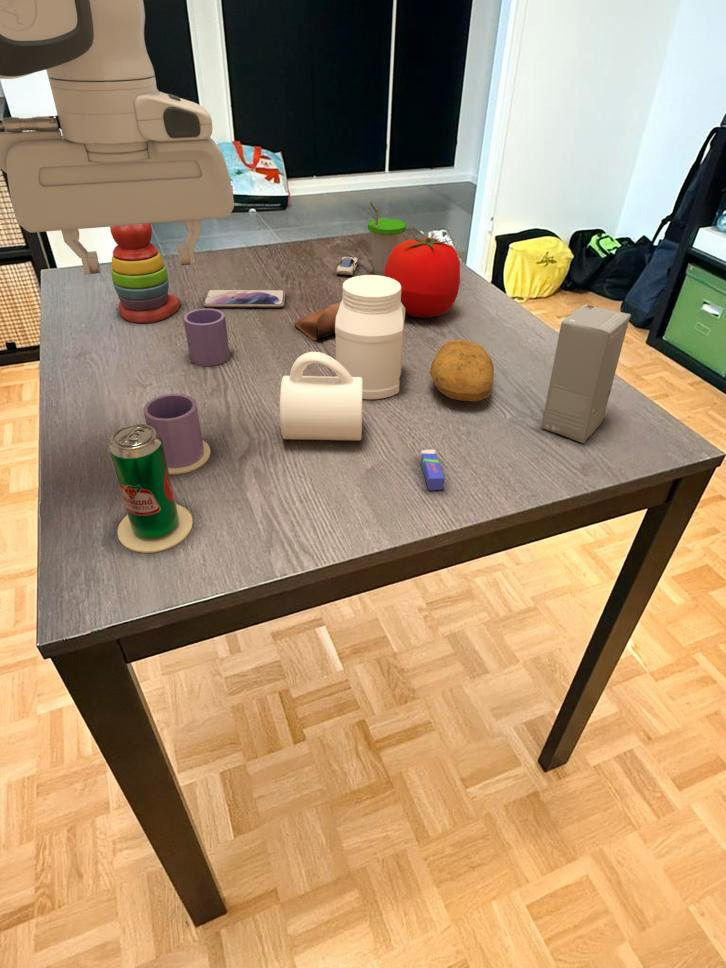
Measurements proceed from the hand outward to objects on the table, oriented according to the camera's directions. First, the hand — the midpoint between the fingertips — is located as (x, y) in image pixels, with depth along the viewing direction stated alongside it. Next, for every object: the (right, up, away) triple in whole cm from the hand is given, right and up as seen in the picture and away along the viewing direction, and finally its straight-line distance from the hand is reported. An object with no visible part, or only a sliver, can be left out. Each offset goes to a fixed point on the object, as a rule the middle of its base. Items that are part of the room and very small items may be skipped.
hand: (141, 267), depth 65 cm
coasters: (0, -23, +10) cm, 25 cm away
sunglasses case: (+20, +7, +48) cm, 52 cm away
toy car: (+20, +24, +70) cm, 77 cm away
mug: (+18, -16, +20) cm, 31 cm away
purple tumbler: (0, -19, +15) cm, 24 cm away
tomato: (+34, +10, +53) cm, 63 cm away
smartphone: (+1, +12, +54) cm, 56 cm away
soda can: (0, -27, +4) cm, 28 cm away
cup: (+28, +22, +67) cm, 76 cm away
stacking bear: (-16, +9, +50) cm, 53 cm away
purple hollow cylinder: (-2, -2, +36) cm, 36 cm away
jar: (+24, -7, +31) cm, 40 cm away
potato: (+38, -8, +30) cm, 49 cm away
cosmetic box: (+52, -14, +23) cm, 59 cm away
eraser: (+32, -22, +13) cm, 40 cm away
